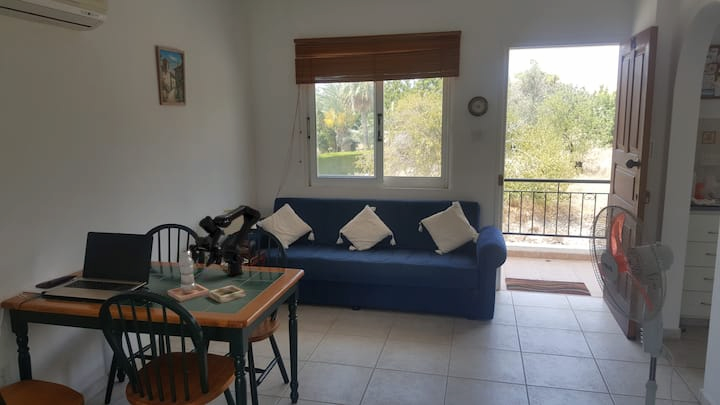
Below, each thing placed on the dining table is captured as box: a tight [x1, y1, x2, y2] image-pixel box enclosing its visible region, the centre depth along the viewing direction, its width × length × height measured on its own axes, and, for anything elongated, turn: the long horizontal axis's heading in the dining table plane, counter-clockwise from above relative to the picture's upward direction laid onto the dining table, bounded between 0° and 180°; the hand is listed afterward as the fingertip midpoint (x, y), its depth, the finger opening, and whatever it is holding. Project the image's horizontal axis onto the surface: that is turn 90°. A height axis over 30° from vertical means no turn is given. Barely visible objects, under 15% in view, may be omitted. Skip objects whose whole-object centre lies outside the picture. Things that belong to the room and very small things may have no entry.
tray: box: [167, 283, 211, 303], centre depth 227 cm, size 14×14×2 cm
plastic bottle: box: [178, 249, 197, 294], centre depth 225 cm, size 6×7×20 cm
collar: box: [208, 284, 246, 304], centre depth 223 cm, size 12×12×2 cm
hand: (198, 266), depth 232 cm, fingers open, 9 cm apart
